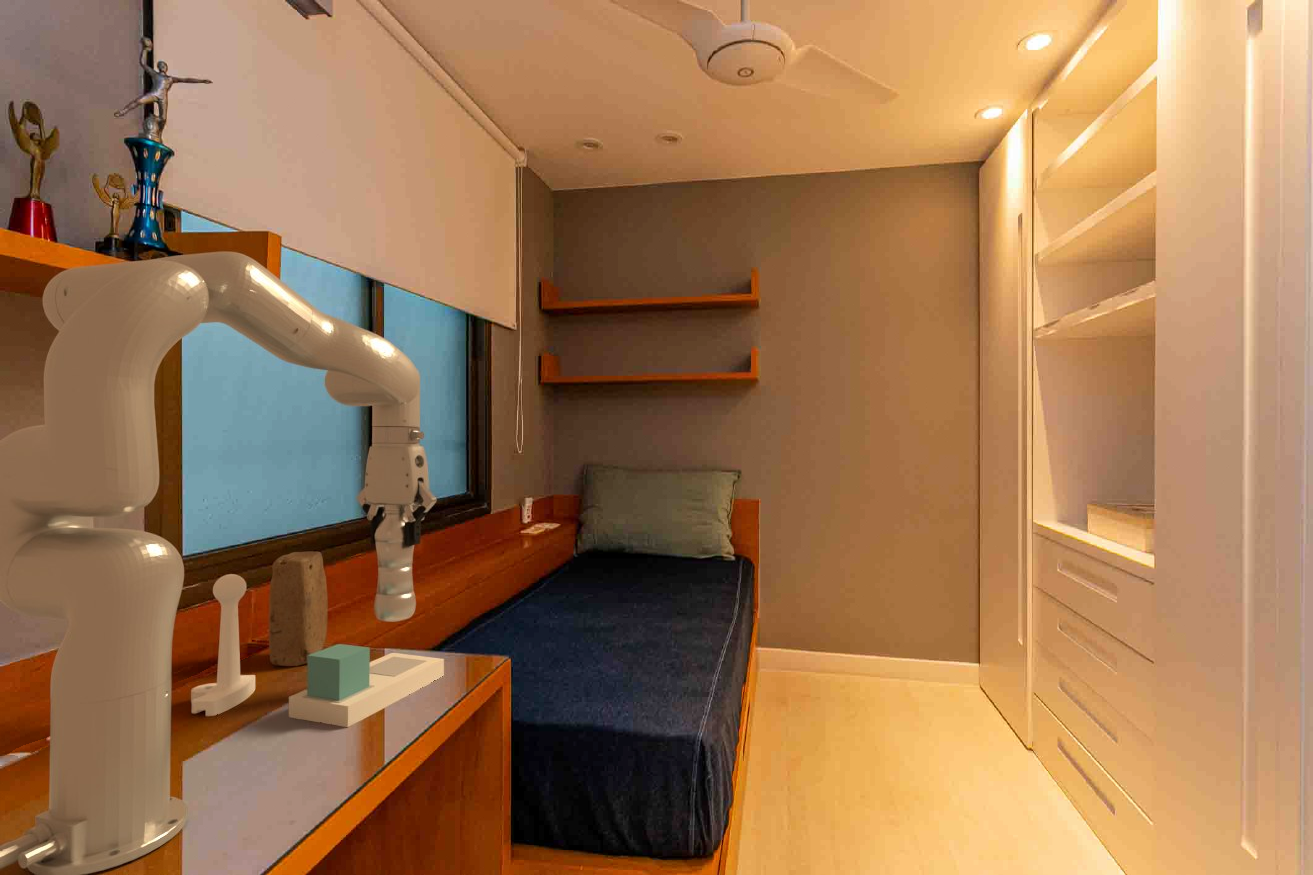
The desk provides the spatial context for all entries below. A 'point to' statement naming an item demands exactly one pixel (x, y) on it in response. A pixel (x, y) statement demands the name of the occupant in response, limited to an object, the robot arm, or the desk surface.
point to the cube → (338, 671)
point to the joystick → (226, 655)
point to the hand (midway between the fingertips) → (395, 542)
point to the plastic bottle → (394, 567)
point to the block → (297, 608)
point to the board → (371, 690)
